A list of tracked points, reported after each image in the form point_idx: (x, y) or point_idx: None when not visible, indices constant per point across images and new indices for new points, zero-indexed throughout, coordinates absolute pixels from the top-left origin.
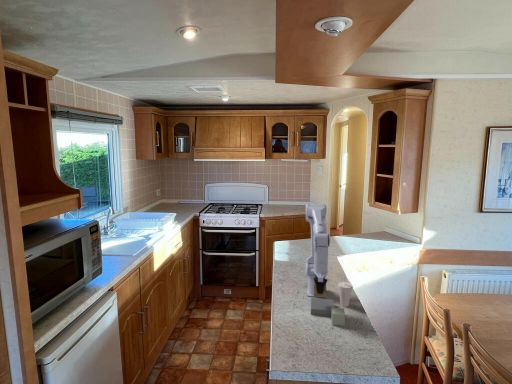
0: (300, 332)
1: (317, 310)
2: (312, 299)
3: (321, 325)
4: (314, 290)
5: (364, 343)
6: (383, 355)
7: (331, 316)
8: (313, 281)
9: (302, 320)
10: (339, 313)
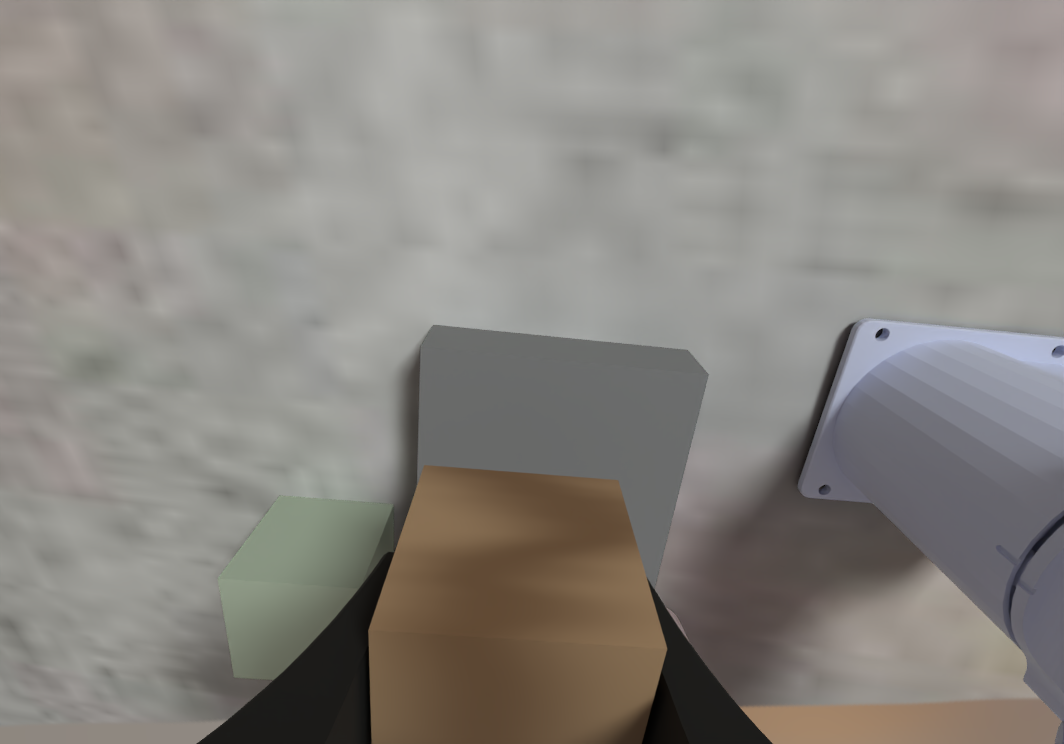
0: (30, 185)
1: (421, 414)
2: (663, 385)
3: (242, 409)
4: (403, 538)
5: (96, 659)
6: (9, 723)
7: (356, 523)
8: (1000, 497)
9: (284, 223)
10: (242, 638)
